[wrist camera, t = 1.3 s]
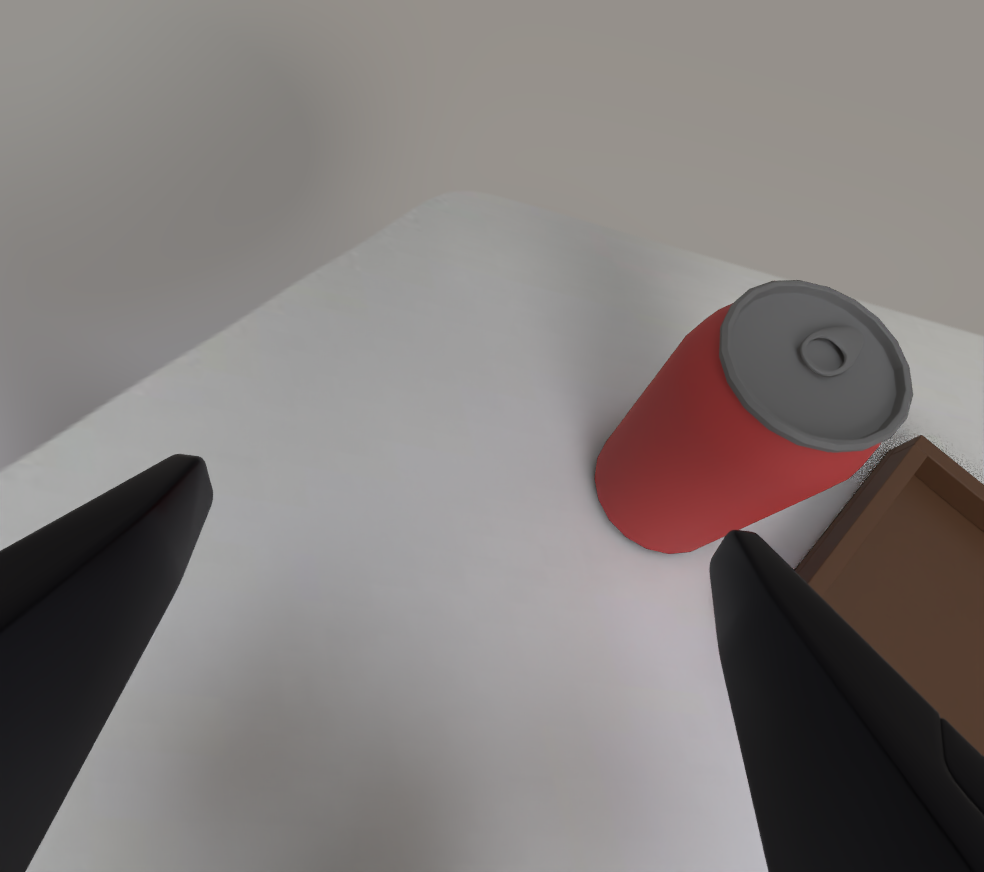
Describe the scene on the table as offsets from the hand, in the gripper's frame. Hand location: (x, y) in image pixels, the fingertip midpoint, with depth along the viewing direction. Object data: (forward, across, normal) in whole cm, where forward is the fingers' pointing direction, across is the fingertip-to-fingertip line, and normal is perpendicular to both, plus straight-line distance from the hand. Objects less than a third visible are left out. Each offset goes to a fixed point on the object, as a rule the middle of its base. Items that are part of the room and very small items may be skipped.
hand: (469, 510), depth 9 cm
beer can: (+13, -9, +10) cm, 19 cm away
